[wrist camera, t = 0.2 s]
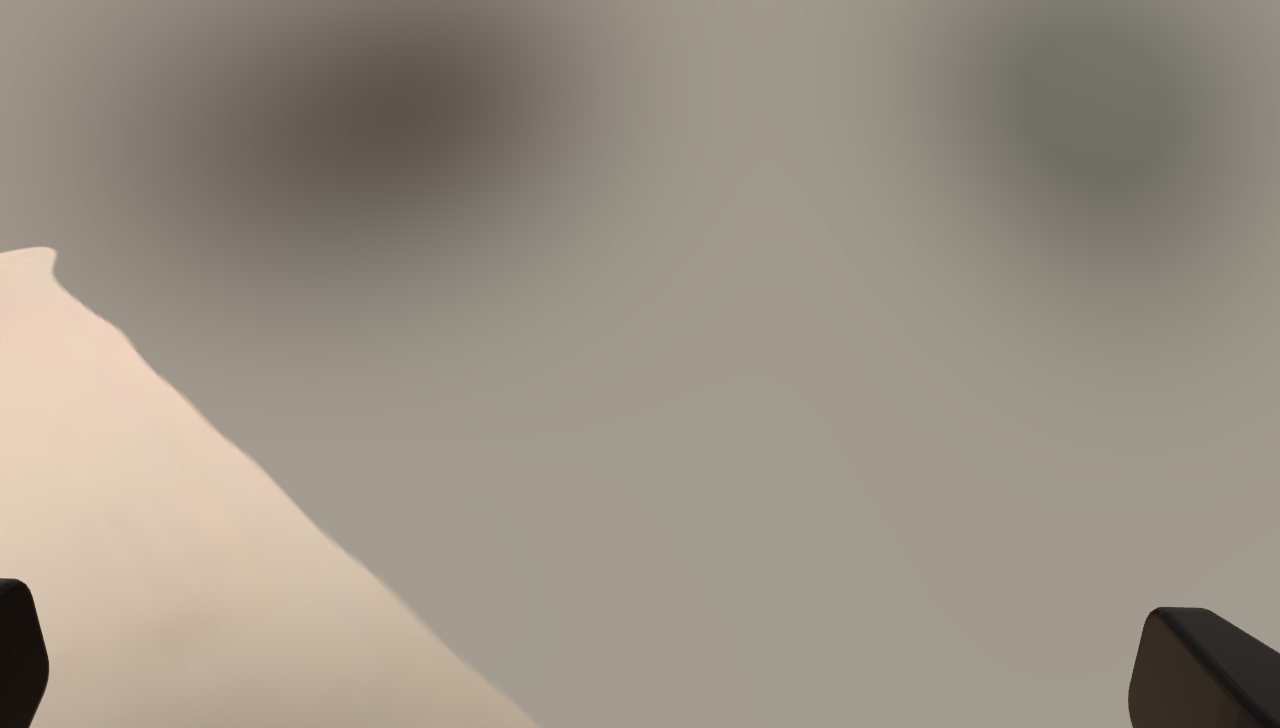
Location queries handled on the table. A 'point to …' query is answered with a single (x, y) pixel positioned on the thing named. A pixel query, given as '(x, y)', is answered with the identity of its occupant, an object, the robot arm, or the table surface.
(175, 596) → the table surface
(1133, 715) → the robot arm
